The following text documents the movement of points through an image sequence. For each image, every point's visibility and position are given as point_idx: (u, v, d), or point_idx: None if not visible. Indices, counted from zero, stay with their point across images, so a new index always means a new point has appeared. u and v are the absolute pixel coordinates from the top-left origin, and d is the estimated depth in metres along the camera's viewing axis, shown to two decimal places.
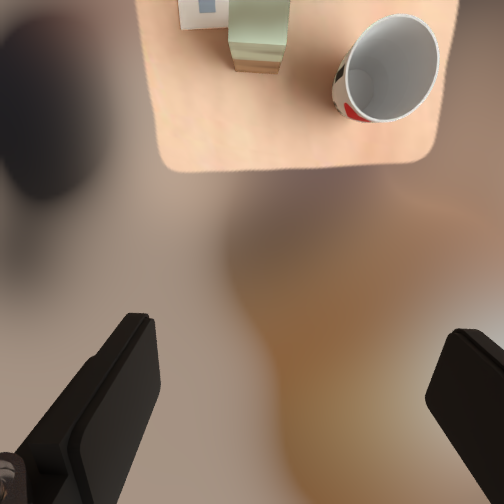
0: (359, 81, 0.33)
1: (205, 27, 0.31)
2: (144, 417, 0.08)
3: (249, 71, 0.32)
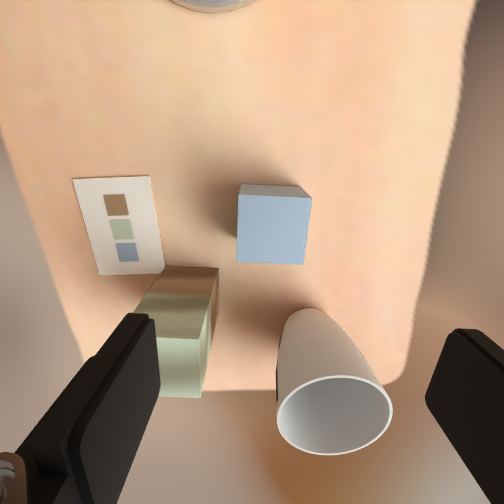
0: None
1: (128, 273, 0.26)
2: (144, 417, 0.08)
3: None
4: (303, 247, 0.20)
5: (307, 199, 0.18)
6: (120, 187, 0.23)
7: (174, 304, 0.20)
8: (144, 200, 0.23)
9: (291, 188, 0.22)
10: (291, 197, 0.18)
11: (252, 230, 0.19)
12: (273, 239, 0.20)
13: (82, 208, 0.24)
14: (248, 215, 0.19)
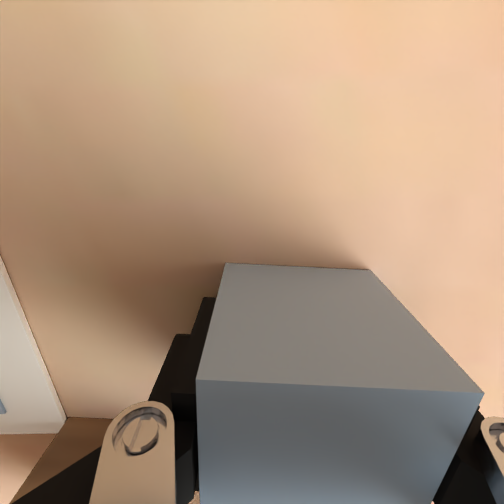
0: None
1: None
2: None
3: None
4: None
5: (465, 396, 0.05)
6: None
7: None
8: None
9: (357, 287, 0.08)
10: (402, 387, 0.05)
11: (249, 474, 0.06)
12: (321, 494, 0.06)
13: None
14: (235, 437, 0.05)
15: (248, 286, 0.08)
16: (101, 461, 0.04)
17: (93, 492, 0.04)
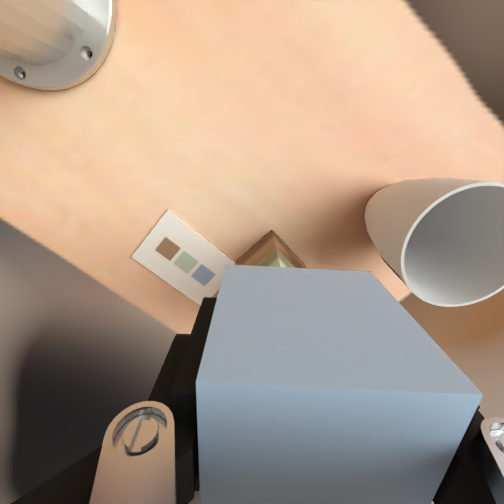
0: None
1: (217, 289, 0.29)
2: None
3: None
4: None
5: (464, 398, 0.05)
6: (159, 234, 0.27)
7: None
8: (180, 229, 0.26)
9: (356, 289, 0.08)
10: (401, 389, 0.05)
11: (250, 476, 0.06)
12: (321, 496, 0.06)
13: (152, 270, 0.28)
14: (235, 439, 0.05)
15: (248, 288, 0.08)
16: (101, 461, 0.04)
17: (93, 492, 0.04)
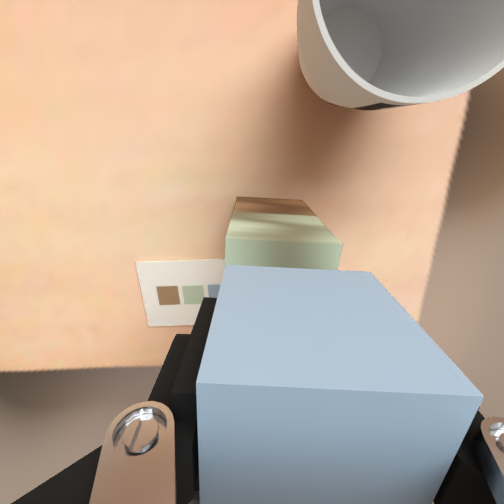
0: None
1: None
2: None
3: None
4: None
5: (464, 400, 0.05)
6: (150, 289, 0.23)
7: None
8: (160, 269, 0.23)
9: (357, 289, 0.08)
10: (402, 391, 0.05)
11: (249, 477, 0.06)
12: (321, 497, 0.06)
13: (175, 324, 0.25)
14: (235, 440, 0.05)
15: (248, 288, 0.08)
16: (101, 461, 0.04)
17: (93, 492, 0.04)
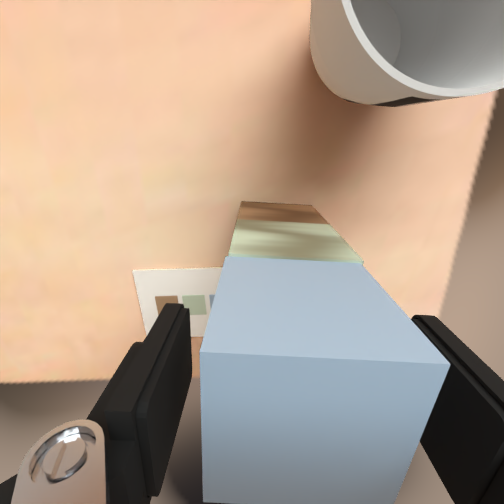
0: None
1: None
2: (182, 399, 0.08)
3: None
4: (398, 477, 0.07)
5: (434, 367, 0.05)
6: (148, 298, 0.22)
7: None
8: (159, 278, 0.21)
9: (346, 278, 0.09)
10: (379, 359, 0.05)
11: (246, 440, 0.06)
12: (310, 459, 0.07)
13: None
14: (234, 405, 0.06)
15: (246, 276, 0.09)
16: (15, 497, 0.04)
17: None
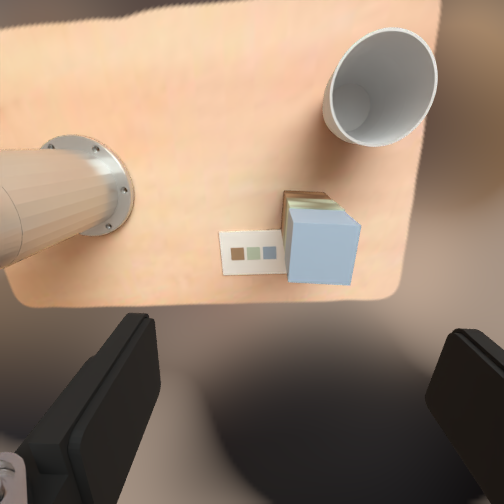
0: (338, 102, 0.30)
1: None
2: (144, 417, 0.08)
3: None
4: (351, 269, 0.21)
5: (356, 226, 0.20)
6: (226, 249, 0.37)
7: (285, 222, 0.29)
8: (234, 237, 0.37)
9: (336, 213, 0.24)
10: (342, 224, 0.20)
11: (304, 254, 0.21)
12: (323, 262, 0.21)
13: (240, 273, 0.39)
14: (301, 241, 0.21)
15: (299, 212, 0.23)
16: None
17: None
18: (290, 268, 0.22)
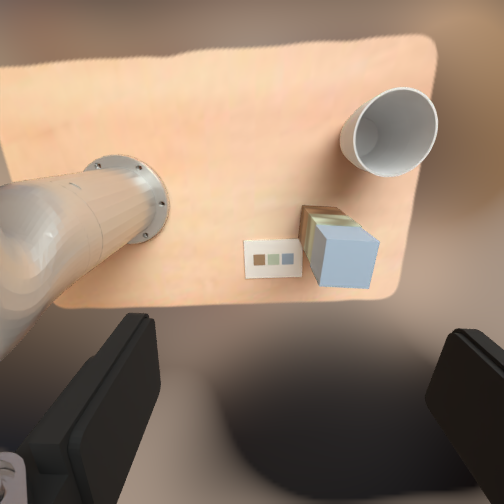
0: None
1: (301, 260, 0.42)
2: (144, 417, 0.08)
3: None
4: (370, 276, 0.27)
5: (376, 242, 0.26)
6: (249, 256, 0.42)
7: (307, 235, 0.34)
8: (256, 245, 0.41)
9: (356, 230, 0.29)
10: (364, 241, 0.26)
11: (333, 264, 0.26)
12: (348, 270, 0.27)
13: (261, 277, 0.43)
14: (332, 253, 0.26)
15: (326, 229, 0.29)
16: None
17: None
18: (321, 275, 0.27)
